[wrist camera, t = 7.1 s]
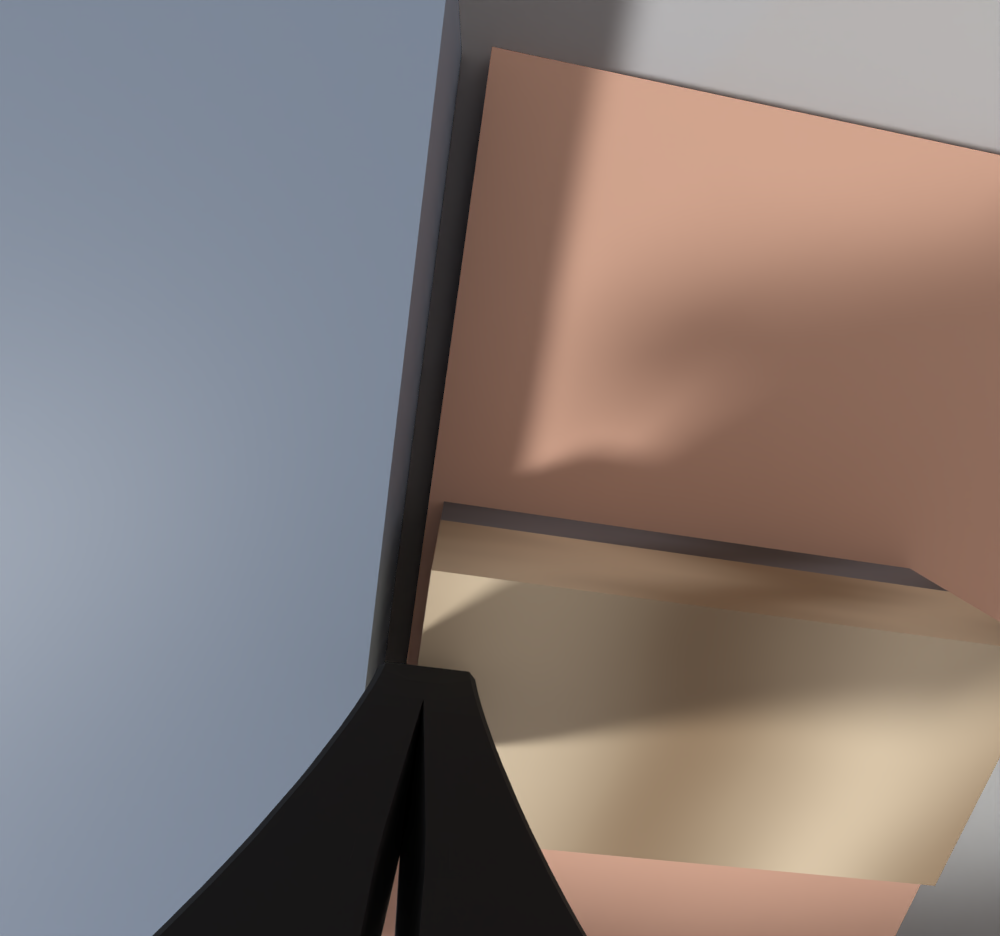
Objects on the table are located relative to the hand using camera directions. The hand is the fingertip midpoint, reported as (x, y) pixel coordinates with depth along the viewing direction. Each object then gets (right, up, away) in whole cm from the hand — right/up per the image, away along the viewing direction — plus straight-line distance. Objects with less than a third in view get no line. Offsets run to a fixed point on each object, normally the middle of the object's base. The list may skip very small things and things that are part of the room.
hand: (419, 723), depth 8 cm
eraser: (+5, 0, +4) cm, 6 cm away
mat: (+6, 0, +4) cm, 8 cm away
